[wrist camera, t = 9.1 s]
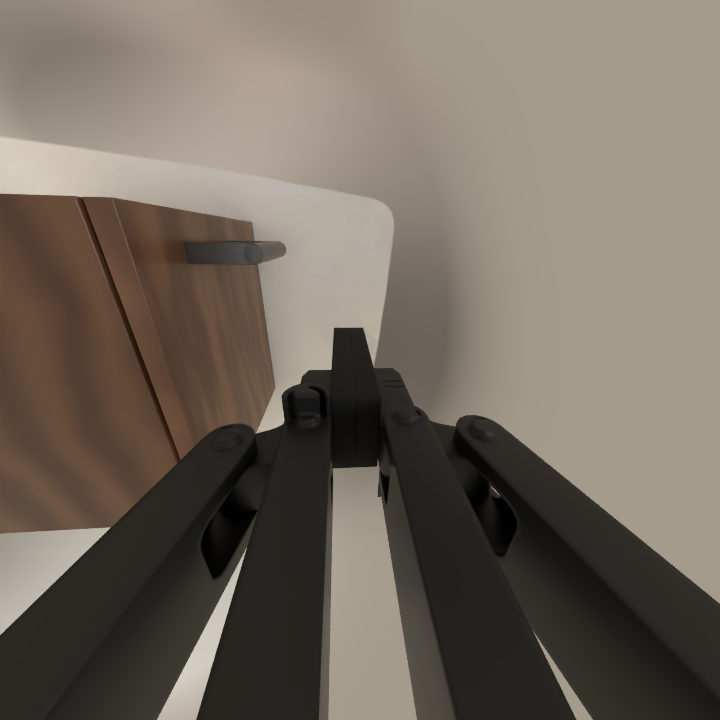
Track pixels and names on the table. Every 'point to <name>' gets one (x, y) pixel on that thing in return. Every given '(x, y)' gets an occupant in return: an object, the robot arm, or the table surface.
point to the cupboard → (69, 377)
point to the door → (192, 311)
